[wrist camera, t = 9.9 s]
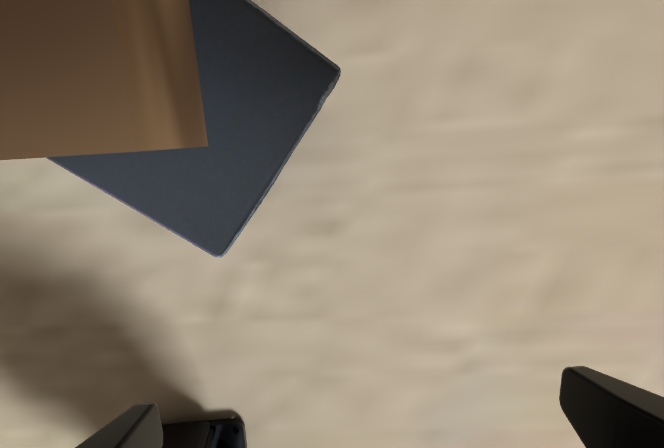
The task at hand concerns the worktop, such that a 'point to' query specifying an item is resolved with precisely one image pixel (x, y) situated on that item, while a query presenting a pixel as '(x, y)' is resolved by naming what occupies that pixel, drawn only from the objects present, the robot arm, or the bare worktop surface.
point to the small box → (224, 128)
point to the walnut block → (97, 78)
